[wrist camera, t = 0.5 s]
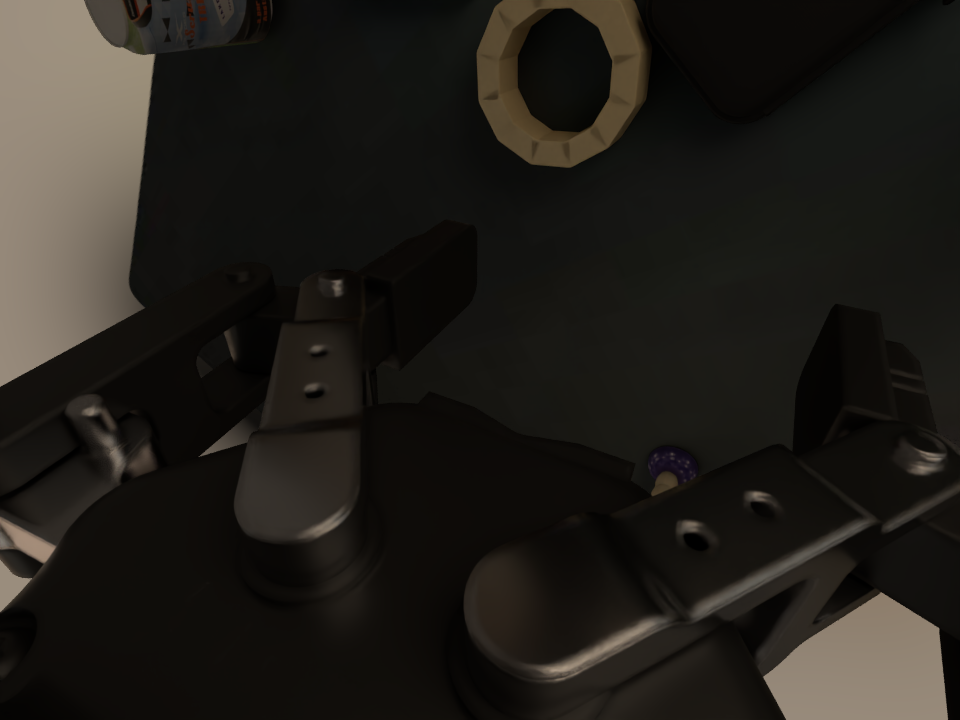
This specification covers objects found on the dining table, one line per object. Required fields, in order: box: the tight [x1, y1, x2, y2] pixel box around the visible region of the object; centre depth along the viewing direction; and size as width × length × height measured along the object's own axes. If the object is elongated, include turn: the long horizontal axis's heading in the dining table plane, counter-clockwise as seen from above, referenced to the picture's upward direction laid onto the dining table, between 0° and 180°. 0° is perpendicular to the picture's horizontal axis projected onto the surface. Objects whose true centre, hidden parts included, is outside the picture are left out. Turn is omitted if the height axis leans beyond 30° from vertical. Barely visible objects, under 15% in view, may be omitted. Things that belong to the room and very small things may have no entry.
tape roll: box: [477, 0, 652, 168], centre depth 34 cm, size 10×10×3 cm
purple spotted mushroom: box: [648, 446, 698, 496], centre depth 42 cm, size 5×5×17 cm
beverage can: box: [84, 0, 272, 55], centre depth 39 cm, size 6×7×12 cm
